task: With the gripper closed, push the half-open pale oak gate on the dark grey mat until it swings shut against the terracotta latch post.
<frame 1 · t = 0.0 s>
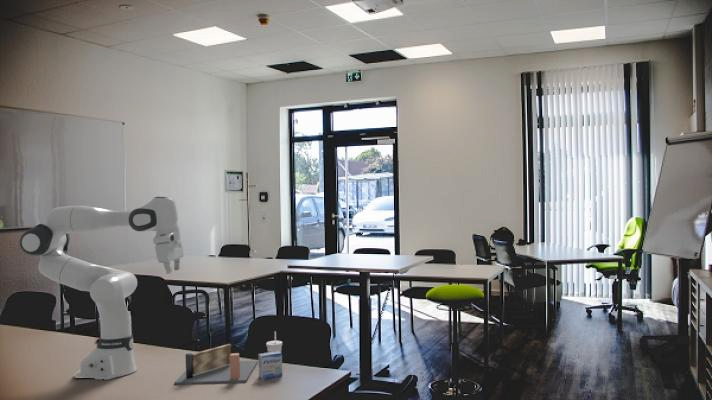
hand: (173, 271, 214), 39 cm above the table, tool pointing down, fingers open, 8 cm apart
hinge post: (189, 379, 202), resting on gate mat
latch post: (235, 380, 199), resting on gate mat
medicine box: (270, 376, 203), on the table
gate: (211, 358, 210), point 5 cm above the table, hinge at 50.0°
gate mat: (218, 372, 209), on the table
smoothie: (275, 367, 214), on the table
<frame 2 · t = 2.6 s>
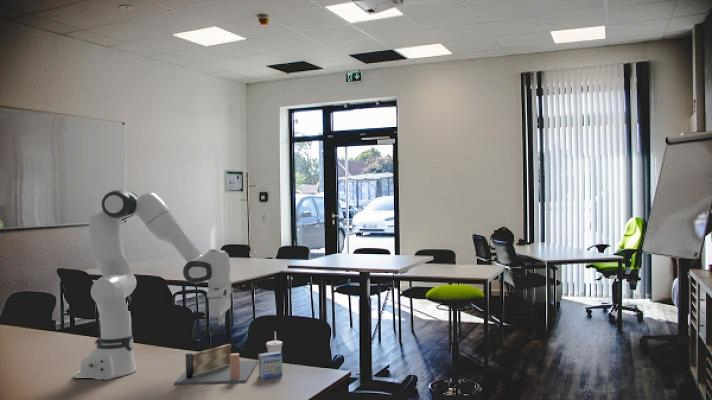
hand: (221, 323, 219), 17 cm above the table, tool pointing down, fingers closed
nothing on the table moved.
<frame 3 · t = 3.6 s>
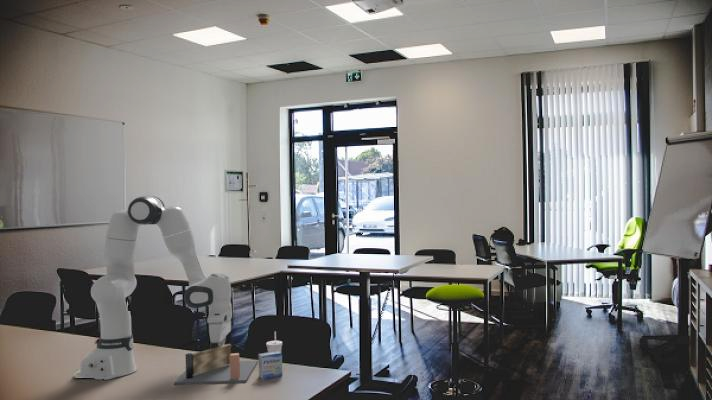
hand: (221, 348, 219), 7 cm above the table, tool pointing down, fingers closed
nothing on the table moved.
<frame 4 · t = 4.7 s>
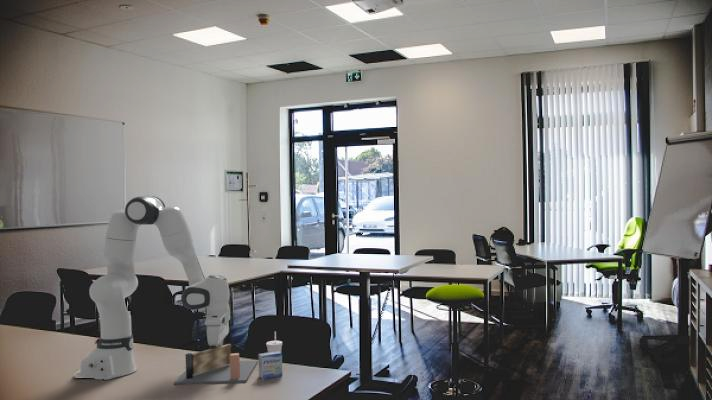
hand: (219, 351, 215), 7 cm above the table, tool pointing down, fingers closed
gate: (211, 358, 210), point 5 cm above the table, hinge at 50.0°, touching gripper
everything else where it was.
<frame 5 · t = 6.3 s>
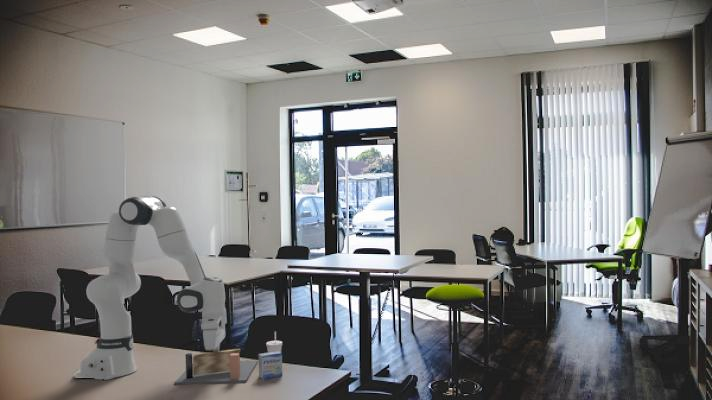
hand: (216, 355, 207), 7 cm above the table, tool pointing down, fingers closed
gate: (217, 361, 206), point 5 cm above the table, hinge at 20.3°, touching gripper
everything else where it was.
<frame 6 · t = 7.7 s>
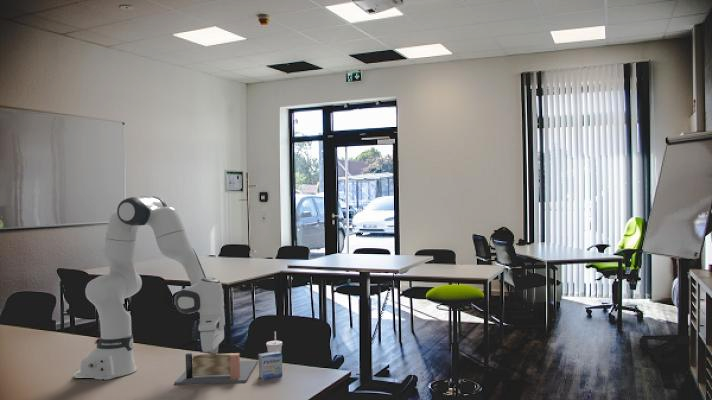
hand: (214, 358, 204), 7 cm above the table, tool pointing down, fingers closed
gate: (216, 364, 202), point 5 cm above the table, hinge at 1.1°, touching gripper
everything else where it was.
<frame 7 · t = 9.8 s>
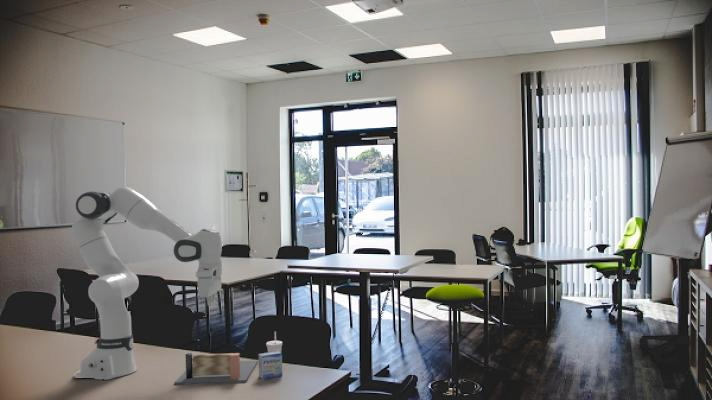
hand: (210, 305, 215), 25 cm above the table, tool pointing down, fingers closed
gate: (216, 364, 202), point 5 cm above the table, hinge at 1.0°
everything else where it was.
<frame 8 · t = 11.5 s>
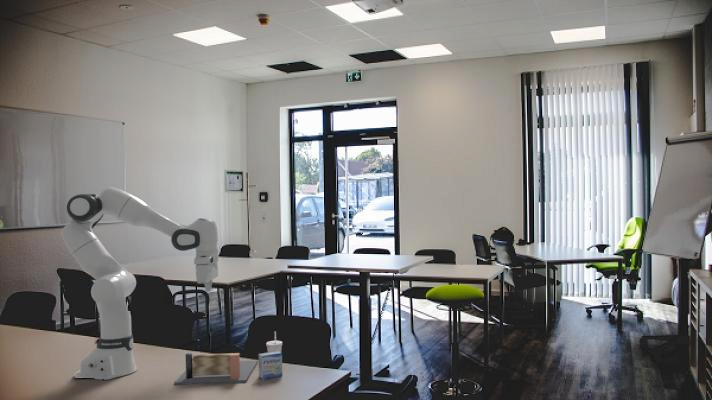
hand: (208, 291, 224), 29 cm above the table, tool pointing down, fingers closed
nothing on the table moved.
at the end: gate at +1° (first picture: +50°); medicine box moved 0.3 cm from its start; smoothie moved 0.2 cm from its start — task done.
